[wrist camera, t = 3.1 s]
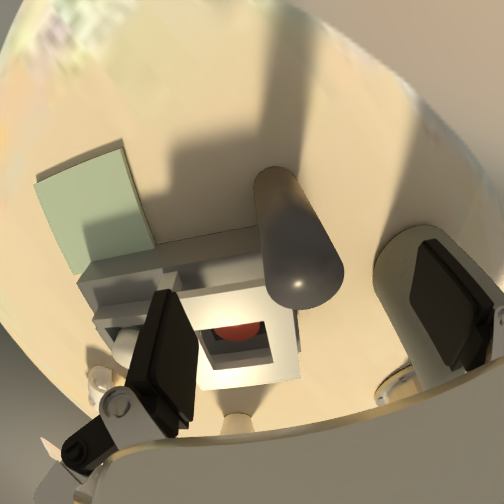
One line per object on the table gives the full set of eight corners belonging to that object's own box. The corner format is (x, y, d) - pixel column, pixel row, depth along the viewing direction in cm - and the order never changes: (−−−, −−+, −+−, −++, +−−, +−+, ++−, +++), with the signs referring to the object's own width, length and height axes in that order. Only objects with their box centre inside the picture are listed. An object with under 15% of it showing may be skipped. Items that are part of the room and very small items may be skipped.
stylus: (293, 163, 21) (343, 237, 11) (299, 203, 23) (343, 301, 13) (250, 170, 22) (258, 252, 11) (257, 210, 23) (271, 315, 13)
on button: (145, 325, 22) (140, 343, 20) (162, 352, 24) (158, 370, 22) (110, 328, 22) (104, 345, 21) (128, 354, 24) (123, 371, 22)
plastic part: (93, 361, 34) (68, 430, 24) (158, 385, 36) (145, 458, 26) (92, 385, 37) (73, 445, 27) (149, 405, 40) (138, 468, 30)
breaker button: (253, 281, 24) (255, 305, 22) (261, 313, 26) (263, 337, 24) (210, 288, 25) (207, 312, 22) (221, 320, 27) (219, 344, 24)
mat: (122, 147, 20) (119, 148, 19) (159, 254, 25) (157, 258, 25) (36, 182, 21) (33, 185, 20) (75, 271, 26) (73, 274, 25)
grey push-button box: (280, 221, 24) (295, 273, 17) (295, 323, 30) (306, 380, 24) (93, 258, 25) (59, 308, 19) (140, 342, 31) (125, 394, 25)
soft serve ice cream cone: (261, 427, 44) (266, 509, 30) (213, 427, 43) (211, 509, 30) (264, 406, 40) (271, 502, 26) (209, 406, 39) (206, 502, 25)
